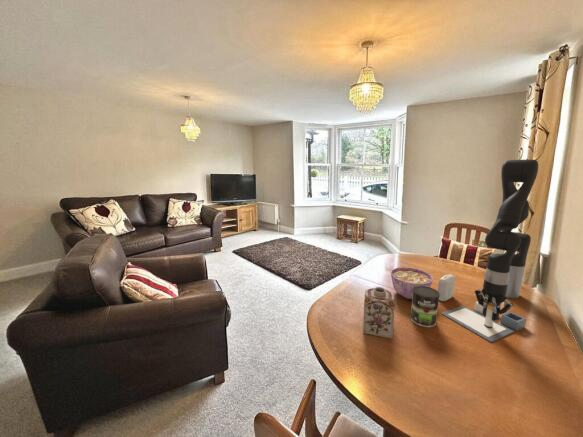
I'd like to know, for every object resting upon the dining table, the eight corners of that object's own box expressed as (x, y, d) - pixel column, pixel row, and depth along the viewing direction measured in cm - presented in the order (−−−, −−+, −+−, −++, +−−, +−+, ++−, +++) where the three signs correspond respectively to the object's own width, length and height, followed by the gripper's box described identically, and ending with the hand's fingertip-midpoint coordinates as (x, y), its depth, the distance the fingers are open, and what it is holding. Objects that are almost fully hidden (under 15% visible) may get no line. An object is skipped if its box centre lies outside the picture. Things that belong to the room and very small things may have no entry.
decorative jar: (391, 322, 112) (394, 284, 108) (393, 339, 101) (396, 298, 97) (363, 317, 116) (365, 281, 112) (362, 333, 105) (363, 294, 101)
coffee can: (438, 329, 106) (441, 299, 103) (411, 324, 110) (414, 295, 107) (434, 315, 116) (437, 287, 113) (409, 311, 119) (411, 284, 116)
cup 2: (508, 319, 112) (509, 311, 111) (524, 327, 106) (526, 318, 105) (500, 323, 109) (501, 314, 109) (516, 331, 104) (517, 322, 103)
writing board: (463, 306, 122) (463, 305, 122) (514, 332, 104) (514, 330, 103) (441, 313, 117) (441, 312, 117) (491, 342, 98) (491, 341, 98)
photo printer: (445, 293, 135) (448, 271, 132) (454, 296, 131) (457, 274, 129) (435, 299, 129) (437, 276, 127) (444, 302, 126) (447, 279, 123)
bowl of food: (388, 301, 128) (390, 280, 126) (389, 283, 146) (390, 265, 144) (433, 308, 121) (435, 286, 118) (428, 289, 139) (430, 269, 137)
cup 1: (481, 307, 122) (483, 299, 121) (495, 313, 116) (496, 305, 115) (474, 309, 119) (475, 302, 119) (487, 316, 114) (488, 308, 113)
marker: (486, 323, 108) (490, 302, 106) (494, 327, 106) (498, 305, 103) (482, 325, 107) (486, 304, 105) (490, 329, 105) (493, 307, 102)
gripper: (522, 285, 97) (514, 325, 101) (483, 271, 109) (478, 307, 113) (510, 289, 94) (503, 330, 98) (472, 274, 107) (466, 311, 111)
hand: (489, 317), depth 106 cm, fingers closed on marker, 2 cm apart
